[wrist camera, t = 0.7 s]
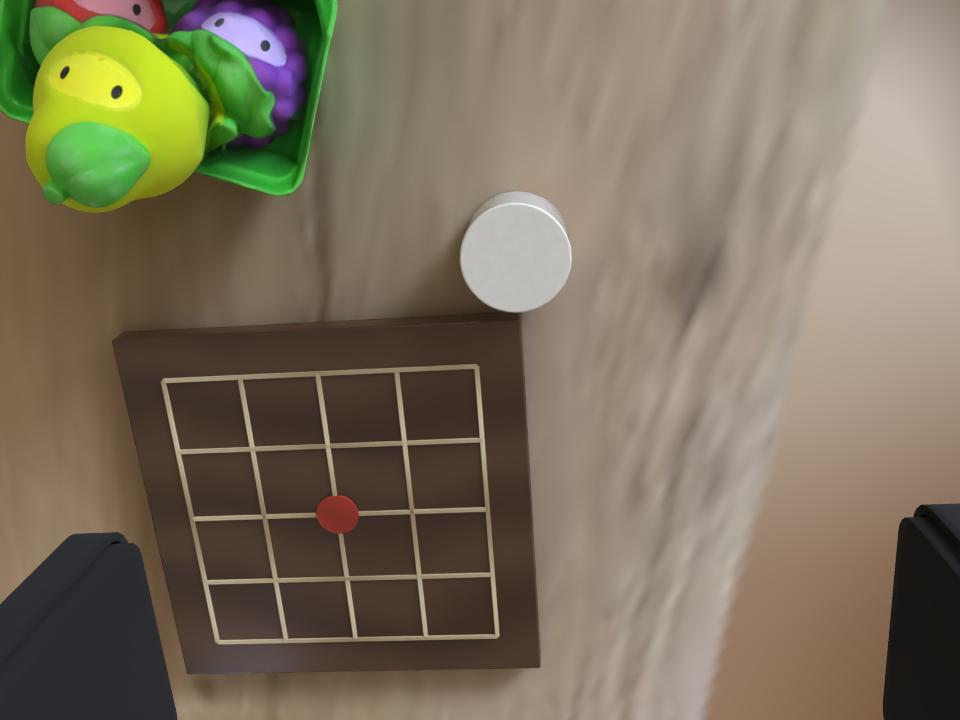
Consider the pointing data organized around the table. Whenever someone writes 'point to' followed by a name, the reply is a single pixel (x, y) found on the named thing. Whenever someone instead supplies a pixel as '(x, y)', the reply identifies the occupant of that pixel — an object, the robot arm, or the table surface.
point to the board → (340, 492)
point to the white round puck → (516, 252)
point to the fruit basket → (162, 93)
